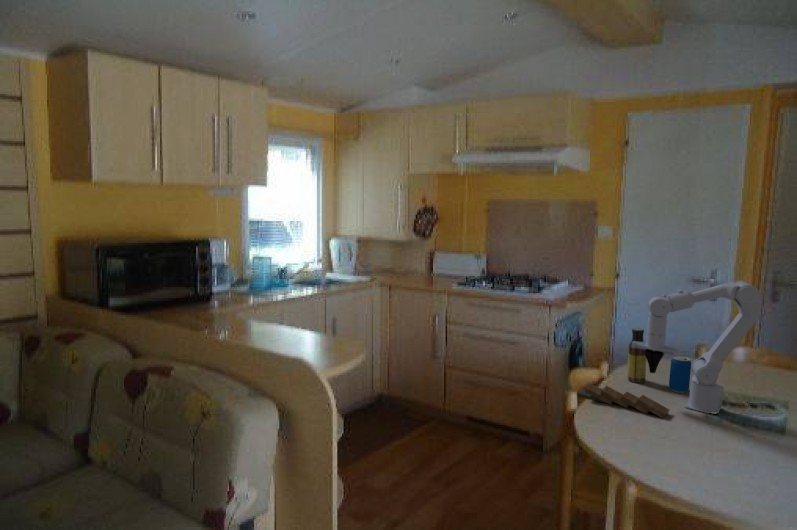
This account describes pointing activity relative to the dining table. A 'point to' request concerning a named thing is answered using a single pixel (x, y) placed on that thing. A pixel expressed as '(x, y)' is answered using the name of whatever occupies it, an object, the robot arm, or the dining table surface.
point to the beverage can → (680, 374)
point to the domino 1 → (587, 395)
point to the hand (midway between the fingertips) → (652, 372)
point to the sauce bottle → (636, 358)
